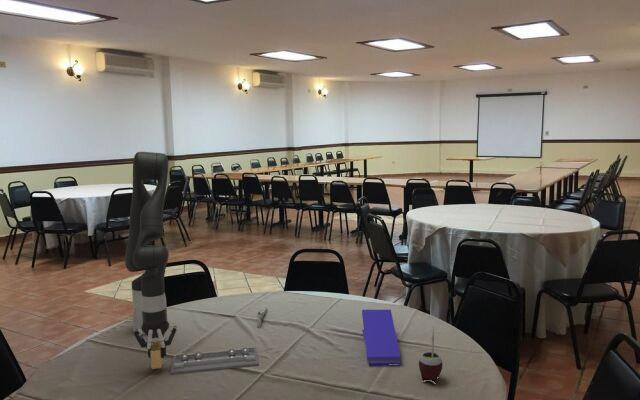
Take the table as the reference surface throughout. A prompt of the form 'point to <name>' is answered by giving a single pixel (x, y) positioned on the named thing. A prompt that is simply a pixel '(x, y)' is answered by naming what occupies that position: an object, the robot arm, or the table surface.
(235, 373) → the table surface
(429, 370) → the mate gourd
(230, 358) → the grey studded track end
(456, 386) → the table surface
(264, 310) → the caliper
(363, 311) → the stapler
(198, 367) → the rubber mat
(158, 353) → the tall wooden block
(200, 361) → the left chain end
